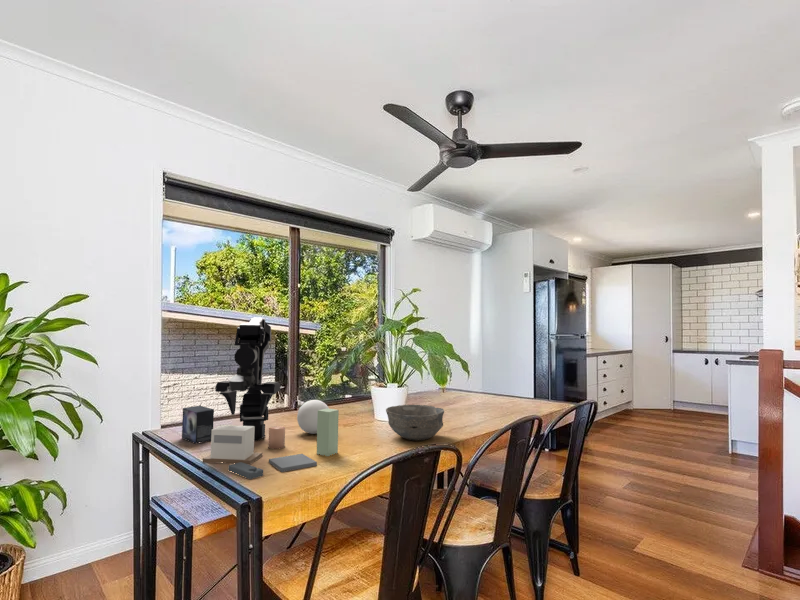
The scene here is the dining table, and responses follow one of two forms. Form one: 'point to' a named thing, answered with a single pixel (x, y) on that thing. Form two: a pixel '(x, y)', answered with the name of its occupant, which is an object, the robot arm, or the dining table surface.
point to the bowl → (415, 421)
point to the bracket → (246, 470)
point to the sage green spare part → (327, 432)
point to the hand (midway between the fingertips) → (247, 415)
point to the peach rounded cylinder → (276, 437)
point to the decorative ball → (310, 415)
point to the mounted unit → (232, 445)
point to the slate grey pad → (292, 462)
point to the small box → (197, 423)
